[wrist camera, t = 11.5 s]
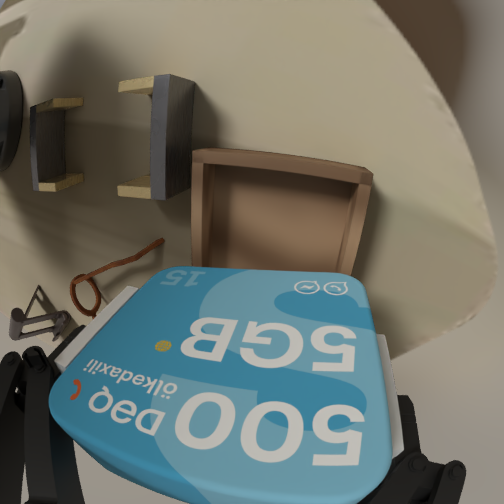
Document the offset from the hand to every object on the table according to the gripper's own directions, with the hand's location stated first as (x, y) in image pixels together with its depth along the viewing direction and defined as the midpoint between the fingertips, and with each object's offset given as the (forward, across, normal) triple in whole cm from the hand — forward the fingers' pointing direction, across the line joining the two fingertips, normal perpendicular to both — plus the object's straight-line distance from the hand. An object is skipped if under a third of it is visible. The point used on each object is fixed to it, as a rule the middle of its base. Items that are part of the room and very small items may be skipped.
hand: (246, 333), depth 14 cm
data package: (+3, 0, 0) cm, 3 cm away
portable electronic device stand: (+10, +34, +16) cm, 38 cm away
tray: (+10, 0, 0) cm, 10 cm away
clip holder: (+10, +16, -9) cm, 20 cm away
